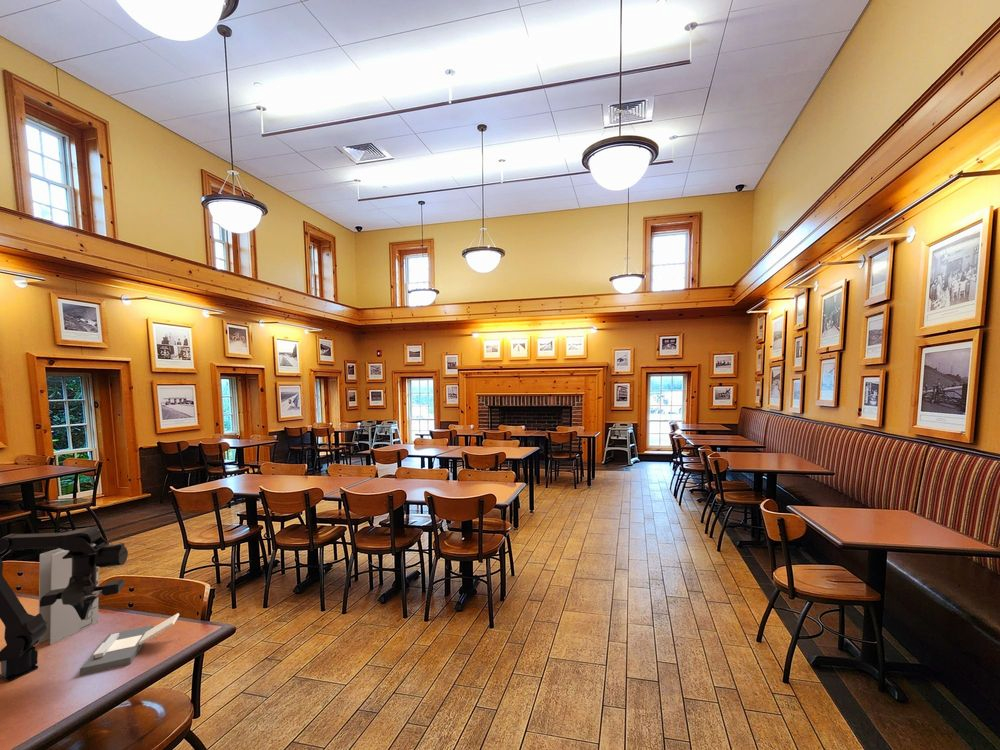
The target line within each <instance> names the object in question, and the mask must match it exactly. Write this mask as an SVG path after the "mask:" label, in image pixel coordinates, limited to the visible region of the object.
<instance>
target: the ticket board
mask: <svg viewBox="0 0 1000 750" xmlns="http://www.w3.org/2000/svg"><path fill="white" fill-rule="evenodd" d="M153 626H154V625H153V624H151V625H146V626H141V627H137V628H131V629H128V630H122V631H116V632H112V633H108V634H107V636H106V637H105V638H104V639H103V640H102V642H101V643H100V644H99V645H98V647H97V648H96V649H95V650H94V651H93V652H92V653H91V655H90V656H89V657H88V658H87V660H86V661H85V662H84V663H83V664H82V666H81V667H80V668H79V676H82V675H88V674H90V673H91V674H92V673H94V672H99V671H105V670H108V669H114V668H118V667H122V666H127V665H131V664H132V663H133V661H134V660H135V658H136V657H137V655H138V653H139V652H140V651H141V649H142V647H143V646H144V645H145V643H146V642H144V643H142V644H141V645H139V641H140V640H141V639H142V637H143V636H144V634H145V633H146V632H147V631H149V630H150V629H152V628H154V627H153Z"/></svg>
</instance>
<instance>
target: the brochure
mask: <svg viewBox="0 0 1000 750" xmlns="http://www.w3.org/2000/svg"><path fill="white" fill-rule="evenodd" d="M95 545H96V544H93V545H91V546H92V547H93V546H95ZM68 552H69V551H68V550H63V549H60V548H55V549H53V550H50V551H45V552H43V553H40V554H39V579H38V580H39V582H38V583H39V584H38V585H39V586H38V589H39V590H38V591H39V592H38V614H39V613H40V614H41V615H42V617H43V620H44V621H46V622H47V624H46V627H47V630H46V632H45V634H44V635H43V636H42V637H41V638H40V639H39V642H38V644H41V643H43V642H45V641H47V640H49V645H53V644H56V643H58V642H60V641H62V640H64V639H65V638H68V637H69V636H72V635H74V634H76V633H78V632H80V631H82V630H84V629H87V628H89V627H90V626H93V625H95V624H96V623H97V624H98V623H99V596H98V597H97V598H96V599H95V600H94V602H93V604H92V606H91V608H90V611H89V613H88V615H87V617H86V619H85V620H81V619H80V617H79V615H78V613H77V611H76V610H75V608H74V607H73V606H71V605H63V603H62V599H57V601H56V602H55V603H54V604H53V605H48V606H42V607H40V599H41V598H42V597H43V596H44V595H45V594H47V593H48V592H49V591H50V590H56V589H62V588H66V587H67V586H68V584H69V580H70V577H71V573H72V558H68V559H63V558H62V557H63V556H65V555H66V554H67V553H68ZM97 568H98V572H97V573H96V581H98V584H97V585H96V586H99V583H100V582H99V575H100V573H99V571H100V569H99V568H100V567H97ZM85 598H86V596H85Z"/></svg>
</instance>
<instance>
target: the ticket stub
mask: <svg viewBox="0 0 1000 750" xmlns="http://www.w3.org/2000/svg"><path fill="white" fill-rule="evenodd" d="M179 616H180V613H179V612H177V613H176V614H174V615H172V616H171V617H169V618H167V619H165V620H164V621H162V622H160V623H159V624H157V625H155V626H154V627H153V628H152V629H150V630H149V631H147V632H146V633H145V634H144V636H143V637H142V639H141V640H140V641H139V645H141V644H142V643H144V642H145V643H146V642H147V641H149V640H151V639H152V638H154V637H156V636H157V635H158V634H161V633H162V632H164V631H166V630H167V629H169V628H171V627H172V626H174V625H175V624H176V621H177V620H178V618H179ZM145 643H144V644H145Z"/></svg>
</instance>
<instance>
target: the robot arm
mask: <svg viewBox="0 0 1000 750" xmlns="http://www.w3.org/2000/svg"><path fill="white" fill-rule="evenodd" d="M93 544H96V545H95V546H93V547H92V546H91V545H93ZM52 548H55V549H59V548H60V549H63V550H68V551H69V552H68V553H67V554H66V555H65V556H63V557H62V558H63V559H68V558H72V573H71V577H70V580H69V584H68V586H67V587H66V588H62V589H56V590H50V591H49V592H48V593H47V594H45V595H44V596H43V597H42V598H41V599H40V607H42V606H48V605H53V604H54V603H55V602H56V601H57V599H62V603H63V605H71V606H73V607H74V608H75V610H76V611H77V613H78V615H79V617H80V619H81V620H85V619H86V617H87V615H88V613H89V611H90V608H91V606H92V604H93V602H94V600H95V599H96V598H97V597H98V598H99V596H101V595H103V596H105V597H106V596H111V595H117V594H119V593H120V592H121V591H122V590H123V589H124V587H126V586H125V585H126V584H125V580H124V579H123V578H119V579H112V580H108V581H107V582H106V583H105V584H104V585H99V584H98V581H96V573H97V572H98V568H97V567H99V568H100V569H101V568H102V569H103V568H109V567H110V568H111V567H117V566H118V567H119V566H124V565H125V564H126V562H127V560H128V555H129V550H128V549H127V547H126V546H125V543H124V542H120V543H116V544H110V543H109V541H107V540H106V539H105V538H104V537H103V536H102V535H101V532H100V530H99V529H97V527H93V526H91V527H90V526H89V527H84V528H79V529H74V530H70V531H65V532H45V533H10V534H8V535H6V536H3V537H0V621H1V622H2V623H3V625H4V636H3V637H4V641H5V643H6V644H5V645H4V647H3V648H2V649H1V650H0V679H2V680H5V682H11V681H13V680H15V679H18V678H19V677H22V676H24V675H26V674H28V673H30V672H33V671H35V670H38V669H39V666H38V655H39V652H38V650H37V649H36V646H35V645H37V644H39V639H40V638H41V637H42V636H43V635H44V634H45V632H46V630H47V627H46V624H47V622H46V621H44V620H43V617H42V615H41V614H40V613H39V612H38V613H37V614H36V615H34V614H30V613H28V612H27V610H26V609H25V606H23V604H22V603H21V601H20V600H19V598H18V596H17V595H16V593H15V592H14V590H13V589H12V588H11V586H10V584H9V583H8V581H7V580H6V578H5V577H4V575H3V573H4V572H3V571H4V569H3V568H4V563H3V559H2V558H4V557H5V555H7V554H8V553H10V552H11V551H12V550H30V549H31V550H32V549H33V550H34V549H52ZM97 584H98V586H96V585H97ZM85 596H86V598H85Z"/></svg>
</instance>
